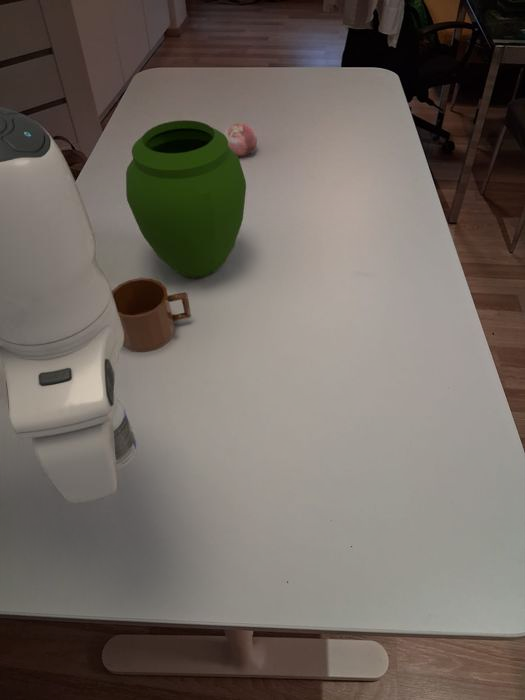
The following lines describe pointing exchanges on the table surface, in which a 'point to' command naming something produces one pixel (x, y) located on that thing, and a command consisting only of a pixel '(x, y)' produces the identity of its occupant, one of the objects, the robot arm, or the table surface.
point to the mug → (147, 313)
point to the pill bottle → (122, 436)
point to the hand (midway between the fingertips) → (105, 433)
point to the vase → (187, 195)
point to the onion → (241, 139)
